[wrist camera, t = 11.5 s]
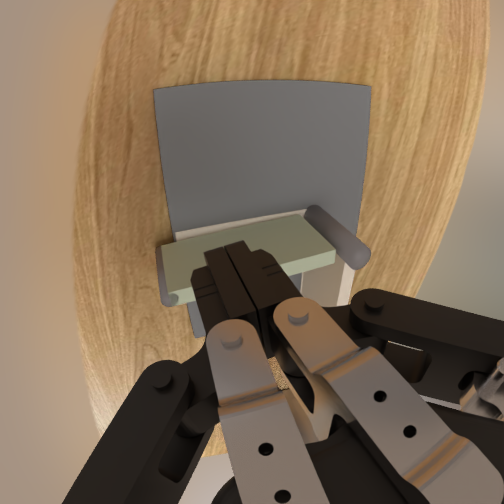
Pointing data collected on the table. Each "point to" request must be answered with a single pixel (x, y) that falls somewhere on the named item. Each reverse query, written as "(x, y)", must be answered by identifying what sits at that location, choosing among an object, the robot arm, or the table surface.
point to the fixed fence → (346, 261)
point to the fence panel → (256, 237)
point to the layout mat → (260, 155)
